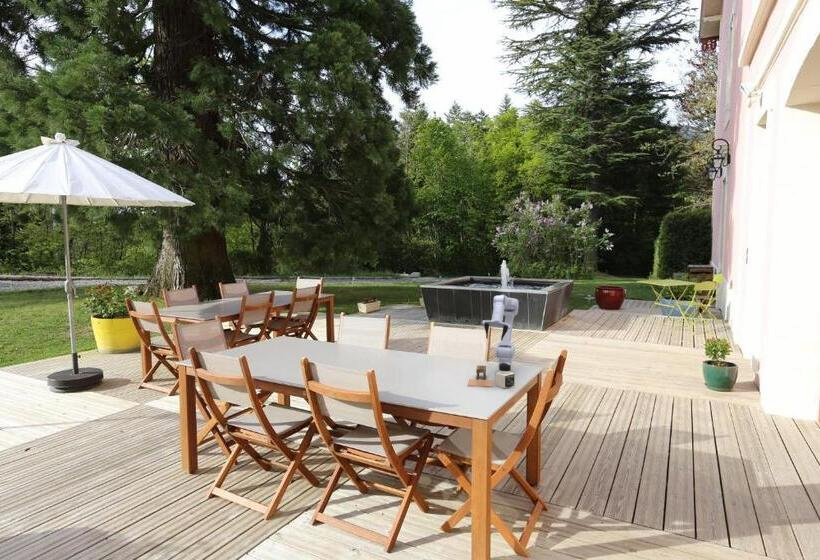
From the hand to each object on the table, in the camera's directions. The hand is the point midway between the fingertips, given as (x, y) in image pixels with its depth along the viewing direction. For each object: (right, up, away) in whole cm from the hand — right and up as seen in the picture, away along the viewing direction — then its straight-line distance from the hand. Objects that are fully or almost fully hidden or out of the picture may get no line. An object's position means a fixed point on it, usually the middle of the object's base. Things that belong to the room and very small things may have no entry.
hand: (494, 338), depth 274 cm
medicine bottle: (+6, -26, +4) cm, 27 cm away
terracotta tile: (-6, -25, +9) cm, 27 cm away
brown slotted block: (-4, -24, +20) cm, 31 cm away
